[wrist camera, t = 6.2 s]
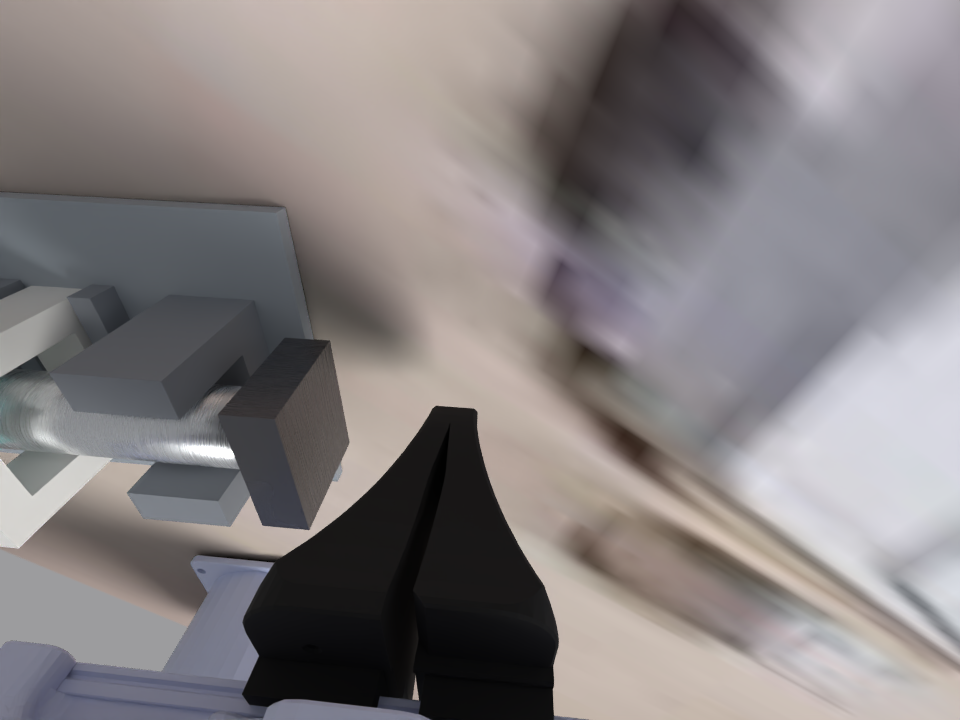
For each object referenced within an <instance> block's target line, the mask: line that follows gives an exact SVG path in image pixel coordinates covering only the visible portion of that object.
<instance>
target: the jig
mask: <svg viewBox="0 0 960 720" xmlns="http://www.w3.org/2000/svg"><path fill="white" fill-rule="evenodd" d="M29 286H47V287H62V288H77V289H81V290H79V291H78V292H76V293H74V294H72V295H70V296H68V297H67V299H68V301H69V303H70V304H71V306H72V308H73V310H74V312H75V313H76V315H77V317H78V319H79V321H80V322H81V324H82V326H83V328H84V330H85V331H86V333H87V335H88V337H89V339H90V340H91V342H92V345H91V346H89V347H88V348H86V349H85V350H83V351H82V352H80V353H79V354H77V355H75V356H74V357H72V358H71V359H69V360H68V361H66V362H65V363H63V364H62V365H60V366H59V367H57V368H55V369H54V370H52V371H51V372H49V374H50V376H51V377H52V379H53V380H54V382H55V383H56V385H57V386H58V388H59V389H60V391H61V392H62V394H63V396H64V397H65V399H66V400H67V402H68V403H69V405H70V406H71V408H72V409H73V411H75V412H87V413H99V414H112V415H124V416H136V417H148V418H160V419H173V420H180V419H181V418H182V417H183V416H184V415H185V414H186V413H187V412H188V411H189V410H190V409H191V407H192V406H193V405H194V404H195V403H196V402H197V401H198V400H199V399H200V398H201V397H202V396H203V395H204V394H205V393H206V392H207V391H208V390H209V389H210V388H211V387H212V386H213V385H214V384H219V385H232V386H243V385H244V384H245V383H246V381H247V380H248V379H249V378H250V377H251V376H252V375H253V373H254V372H255V371H256V370H257V369H258V368H259V367H260V365H261V364H262V363H263V362H264V361H265V360H266V359H267V357H268V356H269V355H270V354H271V353H272V352H273V351H274V349H275V348H276V347H277V346H278V345H279V344H280V343H281V341H282V340H283V339H284V338H299V339H313V340H314V338H313V333H312V329H311V324H310V319H309V315H308V310H307V306H306V301H305V296H304V292H303V287H302V282H301V278H300V273H299V269H298V264H297V259H296V255H295V250H294V245H293V241H292V236H291V232H290V227H289V222H288V218H287V213H286V208H285V207H268V206H250V205H232V204H213V203H195V202H177V201H159V200H140V199H122V198H104V197H85V196H67V195H49V194H31V193H12V192H0V300H1V299H3V298H5V297H7V296H10V295H12V294H14V293H16V292H18V291H21V290H23V289H25V288H27V287H29ZM15 369H24V370H37V371H47V370H46V369H45V367H44V366H43V364H42V362H41V361H40V359H39V358H38V356H37V355H36V356H35V357H33V358H31V359H30V360H28V361H26V362H25V363H23V364H21V365H20V366H18V367H16V368H15ZM24 451H25V450H13V449H1V450H0V452H7V453H19V454H22V453H23V452H24ZM110 462H121V463H133V464H144V465H152V466H151V467H150V468H149V470H148V471H147V472H146V473H145V474H144V475H143V476H142V477H141V478H140V479H139V480H138V481H137V482H136V484H135V485H134V486H133V487H132V488H131V489H130V490H129V491H128V492H127V494H128V496H129V497H130V499H131V500H132V502H133V503H134V505H135V506H136V508H137V509H138V511H139V513H140V514H141V516H142V517H143V518H144V519H154V520H165V521H175V522H186V523H197V524H207V525H218V526H228V527H230V526H231V525H232V523H233V522H234V520H235V518H236V517H237V515H238V514H239V512H240V511H241V509H242V507H243V506H244V504H245V503H246V501H247V500H248V498H249V496H250V493H249V491H248V489H247V486H246V484H245V481H244V479H243V476H242V474H241V471H240V469H231V468H219V467H208V466H196V465H185V464H174V463H162V462H151V461H139V460H128V459H116V458H112V459H111V460H110ZM341 473H342V467H341V463H340V464H339V467H338V469H337V471H336V473H335V475H334V477H333V480H332V481H338V480H339V478H340V475H341Z"/></svg>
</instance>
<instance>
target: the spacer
mask: <svg viewBox="0 0 960 720" xmlns="http://www.w3.org/2000/svg"><path fill="white" fill-rule="evenodd" d="M79 290H81V289H77V288H62V287H47V286H29V287H27V288H25V289H23V290H21V291H18V292H16V293H14V294H12V295H10V296H7V297H5V298H3V299H1V300H0V377H1V376H3V375H5V374H6V373H8V372H10V371H11V370H13V369H15V368H16V367H18V366H20V365H21V364H23V363H25V362H26V361H28V360H30V359H31V358H33V357H35V356H36V355H37V356H38V358H39V359H40V361H41V362H42V364H43V366H44V367H45V369H46V370H47V371H50V372H51V371H52V370H54V369H55V368H57V367H59V366H60V365H62V364H63V363H65V362H66V361H68V360H69V359H71V358H72V357H74V356H75V355H77V354H79V353H80V352H82V351H83V350H85V349H86V348H88V347H89V346H91V345H92V342H91V340H90V339H89V337H88V335H87V333H86V331H85V330H84V328H83V326H82V324H81V322H80V321H79V319H78V317H77V315H76V313H75V312H74V310H73V308H72V306H71V304H70V303H69V301H68V299H67V297H68V296H70V295H72V294H74V293H76V292H78V291H79ZM111 459H112V458H105V457H93V456H82V455H71V454H59V453H48V452H36V451H24V452H23V453H22V454H20V455H19V456H18V457H16V458H15V459H14V460H13V461H11V462H10V463H9V464H7V465H5V464H4V462H3V461H2V460H1V459H0V547H9V548H20V547H21V546H22V545H23V544H24V543H25V542H26V541H27V540H28V539H29V538H30V537H31V536H32V535H33V534H34V533H35V532H36V531H37V530H38V529H39V528H40V527H42V526H43V525H44V524H45V523H46V522H47V521H48V520H49V519H50V518H51V517H52V516H53V515H54V514H55V513H56V512H57V511H58V510H59V509H60V508H61V507H62V506H63V505H64V504H66V503H67V502H68V501H69V500H70V499H71V498H72V497H73V496H74V495H75V494H76V493H77V492H78V491H79V490H80V489H81V488H82V487H83V486H84V485H85V484H86V483H87V482H88V481H90V480H91V479H92V478H93V477H94V476H95V475H96V474H97V473H98V472H99V471H100V470H101V469H102V468H103V467H104V466H105V465H106V464H107V463H108V462H109V461H110V460H111Z"/></svg>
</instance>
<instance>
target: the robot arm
mask: <svg viewBox="0 0 960 720" xmlns="http://www.w3.org/2000/svg"><path fill="white" fill-rule="evenodd" d="M190 564H191V566H192V568H193V570H194V571H195V573H196V575H197V576H198V578H199V579H200V581H201V583H202V584H203V586H204V588H205V589H206V591H207V593H208V594H207V596H206V598H205V599H204V601H203V603H202V604H201V606H200V608H199V609H198V611H197V613H196V614H195V616H194V618H193V619H192V621H191V623H190V625H189V626H188V628H187V630H186V631H185V633H184V635H183V636H182V638H181V640H180V641H179V643H178V645H177V646H176V648H175V650H174V651H173V653H172V655H171V656H170V658H169V660H168V662H167V663H166V665H165V666H164V668H163V670H162V671H161V672H160V671H152V670H142V669H133V668H125V667H116V666H107V665H98V664H89V663H80V662H76V661H75V659H74V658H73V656H72V655H71V654H70V653H69V652H67V651H66V650H64V649H62V648H59V647H57V646H53V645H47V644H39V643H30V642H21V641H8V642H5V643H4V645H3V646H2V647H1V648H0V720H587V719H578V718H569V717H560V716H554V710H553V687H554V673H553V664H554V660H555V657H556V653H557V650H558V644H559V638H558V631H557V626H556V621H555V617H554V614H553V611H552V607H551V604H550V601H549V599H548V596H547V593H546V590H545V587H544V585H543V583H542V582H541V580H540V579H539V577H538V576H537V574H536V573H535V571H534V570H533V568H532V567H531V565H530V563H529V562H528V560H527V559H526V557H525V555H524V553H523V552H522V550H521V548H520V547H519V545H518V543H517V541H516V539H515V537H514V535H513V533H512V531H511V529H510V528H509V526H508V524H507V522H506V520H505V518H504V515H503V513H502V511H501V509H500V506H499V504H498V502H497V499H496V497H495V494H494V492H493V489H492V486H491V483H490V480H489V477H488V474H487V471H486V468H485V464H484V461H483V457H482V452H481V448H480V444H479V438H478V431H477V411H476V410H475V409H471V408H457V407H444V406H435V407H434V408H433V409H432V411H431V413H430V414H429V416H428V418H427V419H426V421H425V422H424V424H423V426H422V427H421V429H420V430H419V431H418V433H417V434H416V436H415V437H414V438H413V440H412V441H411V442H410V444H409V445H408V446H407V448H406V449H405V451H404V452H403V453H402V454H401V456H400V457H399V458H398V459H397V460H396V461H395V463H394V464H393V465H392V466H391V467H390V468H389V470H388V471H387V472H386V473H385V474H384V475H383V476H382V477H381V478H380V480H379V481H378V482H377V483H376V484H375V485H374V486H373V487H372V488H371V489H370V490H369V491H368V492H367V493H366V494H364V495H363V496H362V497H361V498H360V499H359V500H358V501H357V502H356V503H355V504H353V505H352V506H351V507H350V508H349V509H348V510H347V511H345V512H344V513H343V514H342V515H341V516H339V517H338V518H337V519H336V520H334V521H333V522H332V523H330V524H329V525H328V526H326V527H325V528H324V529H322V530H321V531H320V532H319V533H317V534H316V535H315V536H313V537H312V538H310V539H309V540H308V541H306V542H304V543H303V544H301V545H300V546H298V547H297V548H295V549H294V550H292V551H291V552H289V553H288V554H286V555H285V556H283V557H282V558H280V559H278V560H277V561H275V563H273V562H262V561H252V560H242V559H232V558H222V557H212V556H201V555H197V556H195V557H194V558H193V559H192V561H191V562H190ZM415 675H416V681H417V688H418V695H419V701H418V700H412V698H413V690H414V683H415Z"/></svg>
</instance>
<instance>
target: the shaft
mask: <svg viewBox="0 0 960 720" xmlns="http://www.w3.org/2000/svg"><path fill="white" fill-rule="evenodd" d="M49 372H50V371H37V370H24V369H13V370H11V371H10V372H8V373H6V374H5V375H3V376H1V377H0V448H2V449H13V450H25V451H36V452H48V453H59V454H71V455H82V456H93V457H105V458H116V459H128V460H139V461H151V462H162V463H174V464H185V465H196V466H208V467H219V468H231V469H240V471H241V474H242V476H243V479H244V481H245V484H246V486H247V489H248V491H249V493H250V496H251V498H252V501H253V503H254V506H255V508H256V511H257V513H258V515H259V518H260V520H261V523H262V525H263V526H272V527H283V528H294V529H304V530H310V527H311V525H312V523H313V521H314V519H315V517H316V514H317V512H318V510H319V508H320V506H321V504H322V501H323V499H324V497H325V495H326V493H327V491H328V488H329V486H330V484H331V482H332V480H333V477H334V475H335V473H336V471H337V469H338V467H339V464H340V462H341V460H342V458H343V456H344V454H345V451H346V449H347V447H348V445H349V438H348V432H347V427H346V422H345V417H344V412H343V406H342V401H341V396H340V391H339V386H338V380H337V375H336V370H335V365H334V360H333V354H332V349H331V344H330V341H327V340H313V339H299V338H284V339H283V340H282V341H281V343H280V344H279V345H278V346H277V347H276V348H275V349H274V351H273V352H272V353H271V354H270V355H269V356H268V357H267V359H266V360H265V361H264V362H263V363H262V364H261V365H260V367H259V368H258V369H257V370H256V371H255V372H254V373H253V375H252V376H251V377H250V378H249V379H248V380H247V381H246V383H245V384H244V385H243V386H232V385H219V384H214V385H213V386H212V387H211V388H210V389H209V390H208V391H207V392H206V393H205V394H204V395H203V396H202V397H201V398H200V399H199V400H198V401H197V402H196V403H195V404H194V405H193V406H192V407H191V409H190V410H189V411H188V412H187V413H186V414H185V415H184V416H183V417H182V418H181V419H180V420H173V419H160V418H148V417H136V416H124V415H112V414H99V413H87V412H75V411H73V409H72V408H71V406H70V405H69V403H68V402H67V400H66V399H65V397H64V396H63V394H62V392H61V391H60V389H59V388H58V386H57V385H56V383H55V382H54V380H53V379H52V377H51V376H50V374H49Z"/></svg>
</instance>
